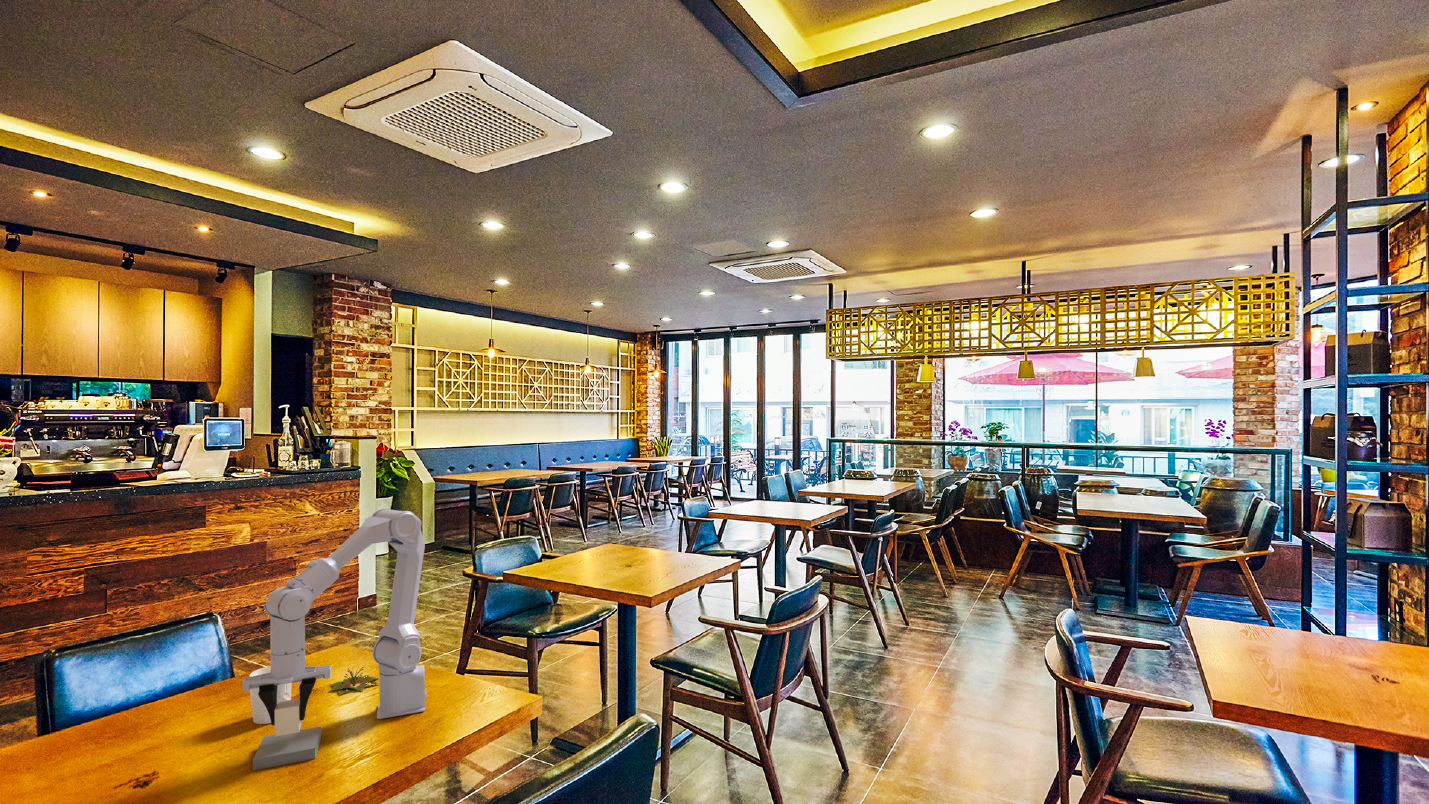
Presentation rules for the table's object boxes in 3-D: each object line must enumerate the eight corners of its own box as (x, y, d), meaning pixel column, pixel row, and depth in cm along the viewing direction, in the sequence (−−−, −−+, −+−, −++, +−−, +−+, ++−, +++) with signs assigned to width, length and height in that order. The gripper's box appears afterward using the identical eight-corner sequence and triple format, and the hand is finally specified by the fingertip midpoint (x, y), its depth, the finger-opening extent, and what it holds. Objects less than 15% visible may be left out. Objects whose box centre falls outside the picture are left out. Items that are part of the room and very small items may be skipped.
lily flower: (320, 687, 167) (320, 668, 167) (373, 673, 175) (372, 655, 175) (333, 702, 158) (333, 682, 158) (388, 687, 166) (388, 668, 166)
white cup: (271, 727, 145) (271, 679, 145) (240, 724, 146) (239, 677, 146) (301, 711, 152) (301, 665, 152) (271, 708, 154) (270, 663, 154)
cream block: (302, 723, 136) (301, 698, 136) (299, 732, 133) (298, 705, 133) (278, 727, 135) (278, 702, 135) (274, 736, 131) (274, 709, 131)
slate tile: (321, 736, 140) (321, 726, 140) (315, 758, 131) (315, 748, 131) (263, 746, 136) (263, 736, 136) (253, 770, 127) (252, 759, 127)
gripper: (238, 663, 127) (239, 737, 127) (328, 650, 133) (328, 721, 133) (246, 651, 134) (247, 721, 133) (332, 640, 139) (332, 707, 139)
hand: (288, 720), depth 133 cm, fingers closed on cream block, 4 cm apart
